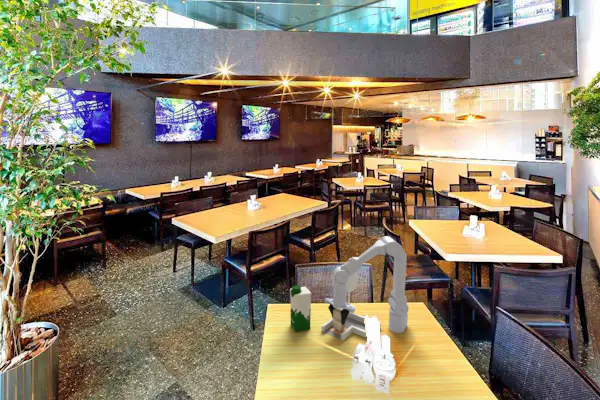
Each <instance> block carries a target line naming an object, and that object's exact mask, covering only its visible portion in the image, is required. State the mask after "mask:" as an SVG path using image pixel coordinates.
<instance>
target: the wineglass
mask: <svg viewBox="0 0 600 400" xmlns="http://www.w3.org/2000/svg"><path fill="white" fill-rule="evenodd" d="M357 272H358V271H356V272H355V273H354V274H352V275H351V276H350V277H349V278H348V281H347V282H346V285H347V287H346V293H347V303H348V304H349V305H351V306H353V307H355V308H356V306H354V305H353V304H351V302H350V300H351V299H350V298H351V292H353V291H355V289H357V286H358V281H359V280H358V273H357Z"/></svg>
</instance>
